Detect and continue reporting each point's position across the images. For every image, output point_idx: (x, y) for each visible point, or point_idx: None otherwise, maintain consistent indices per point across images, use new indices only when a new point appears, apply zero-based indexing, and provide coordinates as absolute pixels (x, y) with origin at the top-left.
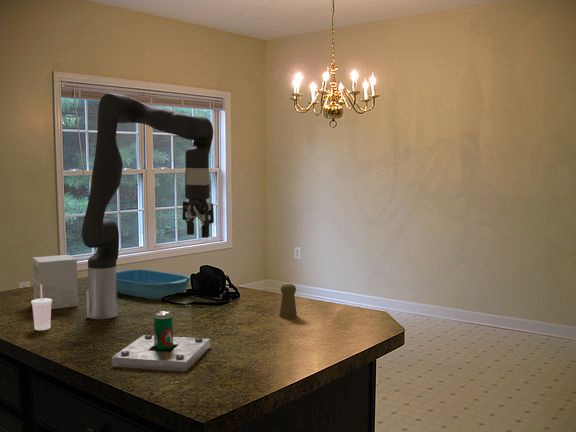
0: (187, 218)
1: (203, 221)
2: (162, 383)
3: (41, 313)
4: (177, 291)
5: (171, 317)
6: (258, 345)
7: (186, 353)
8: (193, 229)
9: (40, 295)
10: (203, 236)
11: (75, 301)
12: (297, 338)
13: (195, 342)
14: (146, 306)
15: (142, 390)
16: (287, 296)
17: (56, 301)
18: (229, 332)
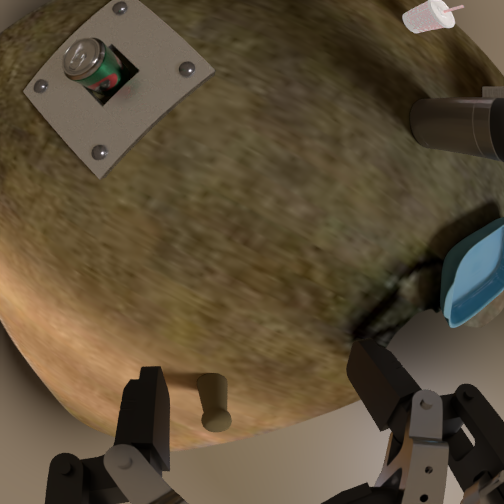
0: (423, 424)
1: (112, 476)
2: (21, 53)
3: (419, 7)
4: (441, 294)
5: (65, 74)
6: (74, 260)
7: (52, 103)
8: (360, 392)
9: (499, 87)
10: (141, 373)
11: None
12: (85, 330)
13: (94, 142)
14: (431, 217)
15: (23, 27)
16: (206, 407)
17: None
18: (174, 258)
